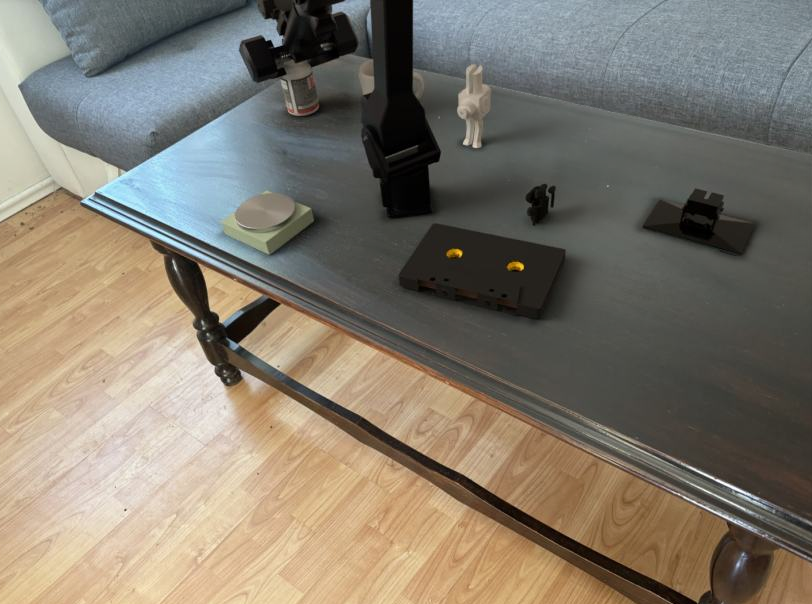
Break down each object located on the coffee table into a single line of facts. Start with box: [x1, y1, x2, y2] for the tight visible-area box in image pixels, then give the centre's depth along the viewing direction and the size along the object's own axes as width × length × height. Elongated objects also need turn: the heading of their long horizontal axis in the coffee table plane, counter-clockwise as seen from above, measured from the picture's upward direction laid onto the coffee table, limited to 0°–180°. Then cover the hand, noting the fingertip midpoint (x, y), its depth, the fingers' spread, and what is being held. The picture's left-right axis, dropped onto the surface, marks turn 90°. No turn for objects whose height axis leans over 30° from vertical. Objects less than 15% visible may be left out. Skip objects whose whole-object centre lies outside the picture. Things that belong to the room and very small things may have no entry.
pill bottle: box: [279, 56, 320, 117], centre depth 114 cm, size 6×6×10 cm
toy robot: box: [456, 63, 492, 149], centre depth 101 cm, size 4×8×12 cm, turn 147°
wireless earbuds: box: [525, 183, 557, 227], centre depth 88 cm, size 7×2×5 cm, turn 142°
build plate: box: [641, 188, 756, 256], centre depth 84 cm, size 12×7×5 cm, turn 57°
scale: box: [220, 190, 315, 256], centre depth 92 cm, size 9×9×3 cm
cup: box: [357, 58, 425, 100], centre depth 111 cm, size 11×8×8 cm
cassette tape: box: [398, 222, 567, 320], centre depth 82 cm, size 18×12×2 cm, turn 66°
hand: (293, 70), depth 113 cm, fingers closed on pill bottle, 6 cm apart
